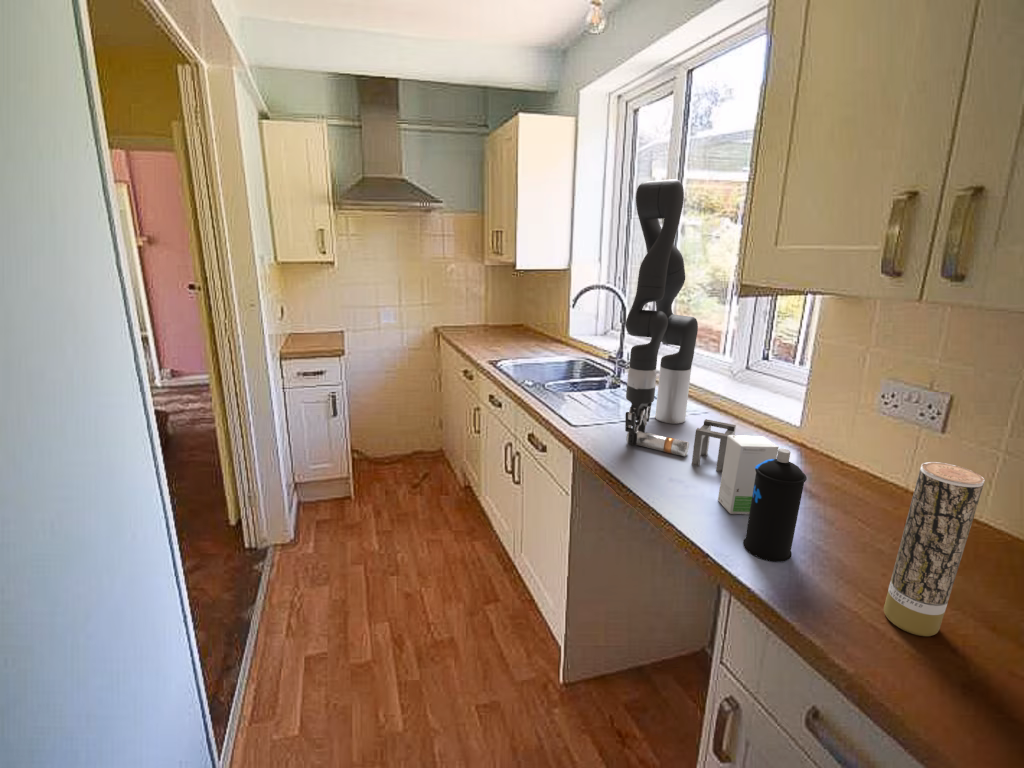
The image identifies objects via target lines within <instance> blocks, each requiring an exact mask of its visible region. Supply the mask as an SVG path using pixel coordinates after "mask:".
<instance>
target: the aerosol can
mask: <svg viewBox="0 0 1024 768" xmlns="http://www.w3.org/2000/svg"><path fill="white" fill-rule="evenodd" d="M790 456H791V450H789V449H787V448H778V453H777V458H776V459H770V460H766V461H764V462H762V463H760V464H758V465H757V466H756V467H755V471H756V476H755V482H754V488H753V494H752V500H751V507H750V513H749V514H748V520H747V526H746V531H745V532H746V533H745V538H744V539H743V541H742V545H743V547H744V549H745V550H746V552H747V553H749V554H751V555H752V556H754V557H756V558H758V559H760V560H763V561H765V562H766V561H767V562H771V563H784V562H787V561H789V560H790V559H791V557H792V555H793V553H792V546H793V542H794V537H795V532H796V531H795V530H796V528H797V521H798V516H799V510H800V505H801V502H802V497H803V496H802V495H803V490H804V485H805V483H806V481H807V476H806V475H807V474H805V473H804V472H803V470H802V469H801V468H800V467H799V466H798V465H797V464H795V463H794V462H791V461H790V458H791V457H790Z"/></svg>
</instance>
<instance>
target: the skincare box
mask: <svg viewBox="0 0 1024 768" xmlns="http://www.w3.org/2000/svg"><path fill="white" fill-rule="evenodd" d="M778 449H780V447H779V446H778V445H777V444H775V443H774V442H772V441H771V440H770V439H768V438H767V437H765V436H763V435H762V436H761V435H749V434H743V435H739V434H738V435H728V436H727V445H726V452H725V458H724V464H723V471H722V472H721V478H720V484H719V491H718V497H717V500H718V502H719V503H720V504H721V505H722V506H723V508H724V509H725V510H726V511H727V512H728V513H729V514H730V515H749V513H750V507H751V500H752V494H753V488H754V482H755V476H756V471H755V467H756V466H757V465H758V464H760V463H762V462H764V461H766V460H770V459H777V455H778Z"/></svg>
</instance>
